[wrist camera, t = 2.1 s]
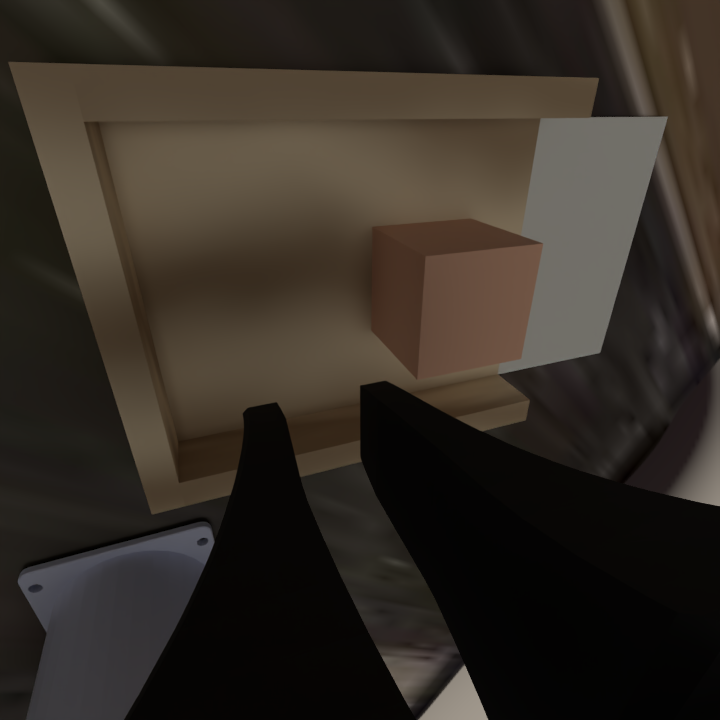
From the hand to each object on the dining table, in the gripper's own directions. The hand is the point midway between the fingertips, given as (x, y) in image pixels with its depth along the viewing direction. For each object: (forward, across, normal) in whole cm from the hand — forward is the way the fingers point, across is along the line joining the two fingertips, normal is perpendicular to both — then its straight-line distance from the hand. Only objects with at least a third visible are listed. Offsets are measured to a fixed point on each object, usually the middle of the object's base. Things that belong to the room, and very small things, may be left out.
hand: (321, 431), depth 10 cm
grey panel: (+9, -16, 0) cm, 18 cm away
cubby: (+9, -3, 0) cm, 10 cm away
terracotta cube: (+9, -7, 0) cm, 11 cm away
